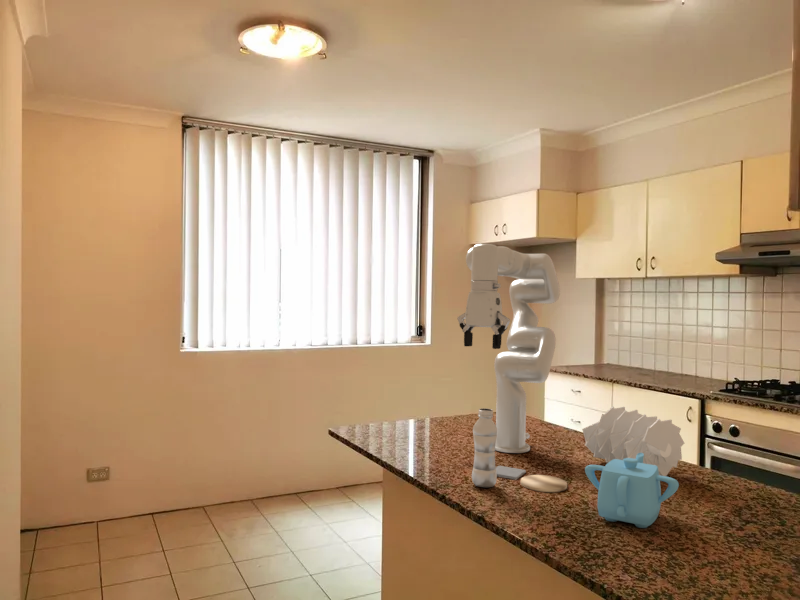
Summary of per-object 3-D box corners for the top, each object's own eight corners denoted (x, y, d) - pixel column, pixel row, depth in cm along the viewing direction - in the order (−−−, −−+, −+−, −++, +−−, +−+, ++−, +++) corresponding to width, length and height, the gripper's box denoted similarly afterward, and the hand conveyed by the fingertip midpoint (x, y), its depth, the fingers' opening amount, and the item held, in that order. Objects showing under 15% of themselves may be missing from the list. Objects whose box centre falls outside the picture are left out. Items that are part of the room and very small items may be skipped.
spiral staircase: (614, 471, 187) (678, 493, 164) (572, 450, 182) (632, 469, 159) (634, 416, 191) (699, 430, 168) (593, 394, 185) (654, 405, 162)
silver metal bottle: (481, 491, 153) (483, 413, 153) (466, 484, 159) (468, 408, 159) (501, 488, 156) (503, 411, 156) (486, 481, 162) (488, 406, 162)
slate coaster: (498, 467, 175) (498, 465, 174) (525, 472, 171) (525, 470, 171) (488, 474, 168) (488, 472, 168) (516, 479, 164) (516, 477, 164)
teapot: (684, 532, 130) (686, 469, 130) (612, 533, 128) (614, 470, 128) (640, 502, 148) (642, 447, 148) (576, 503, 146) (578, 448, 146)
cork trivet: (533, 475, 168) (533, 472, 168) (574, 484, 161) (574, 481, 161) (512, 485, 159) (512, 482, 159) (555, 495, 151) (555, 492, 151)
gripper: (517, 288, 170) (515, 349, 170) (467, 288, 181) (465, 345, 181) (502, 287, 164) (500, 350, 164) (451, 286, 176) (449, 345, 176)
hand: (482, 347), depth 173 cm, fingers open, 9 cm apart
